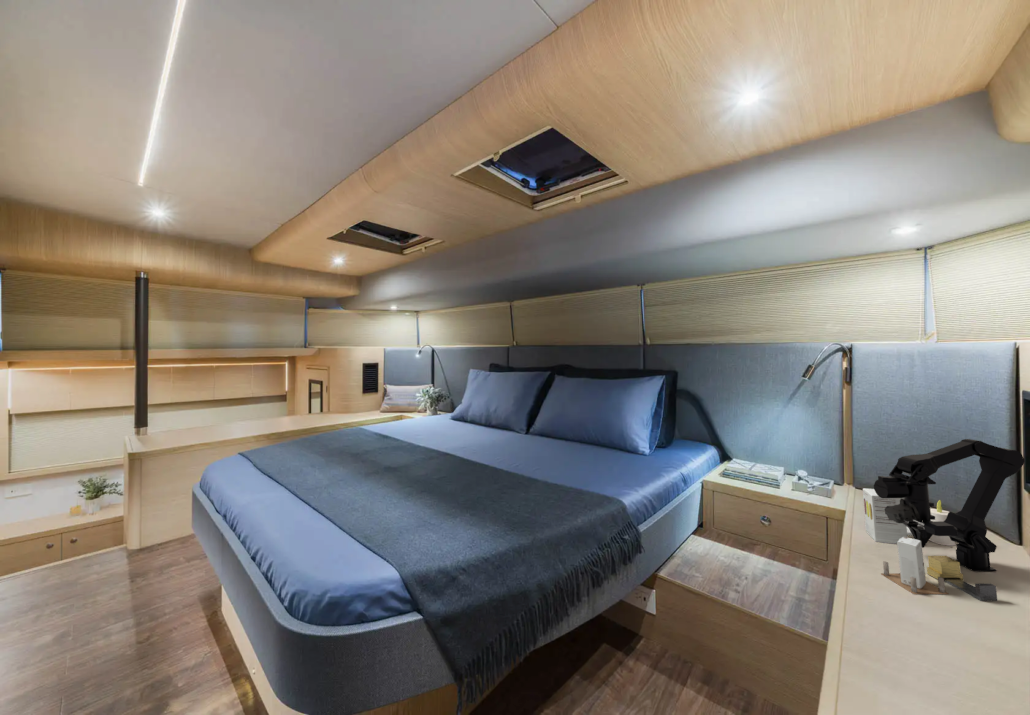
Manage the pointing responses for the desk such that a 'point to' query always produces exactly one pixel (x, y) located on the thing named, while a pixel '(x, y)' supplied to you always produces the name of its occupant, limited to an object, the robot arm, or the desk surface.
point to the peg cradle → (926, 589)
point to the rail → (975, 589)
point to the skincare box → (911, 561)
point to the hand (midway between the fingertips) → (921, 547)
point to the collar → (944, 567)
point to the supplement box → (881, 518)
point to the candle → (939, 516)
